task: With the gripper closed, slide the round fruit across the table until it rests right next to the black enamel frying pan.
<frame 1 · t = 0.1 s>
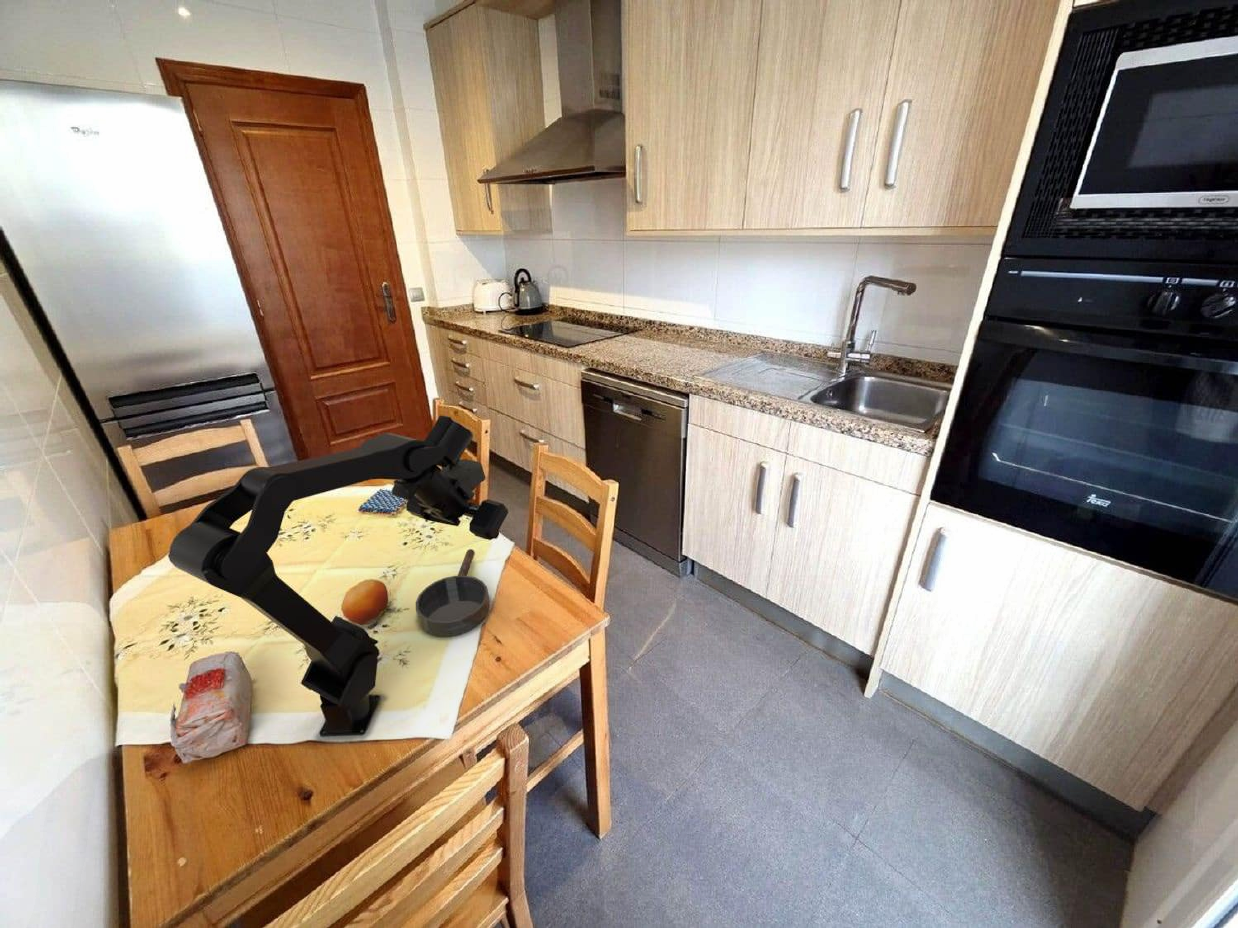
hand: (477, 529, 94), 15 cm above the table, tool tilted 35°, fingers open, 9 cm apart
woven mat: (387, 506, 130), on the table
fruit: (369, 614, 95), on the table
pan handle: (466, 564, 104), point 2 cm above the table
pan: (454, 611, 96), on the table
food item: (225, 725, 74), on the table
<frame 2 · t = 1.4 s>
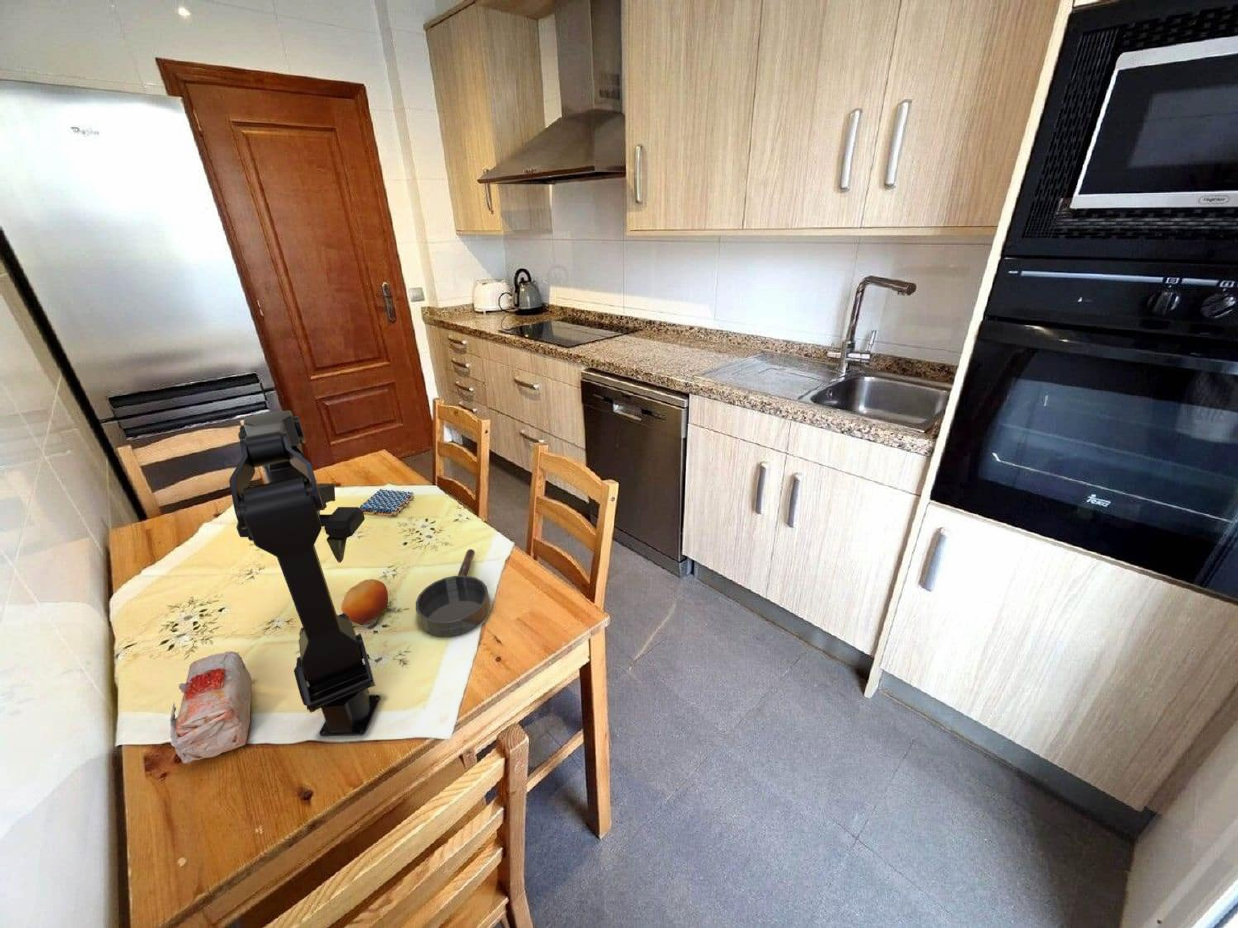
hand: (314, 561, 90), 12 cm above the table, tool pointing down, fingers open, 9 cm apart
nothing on the table moved.
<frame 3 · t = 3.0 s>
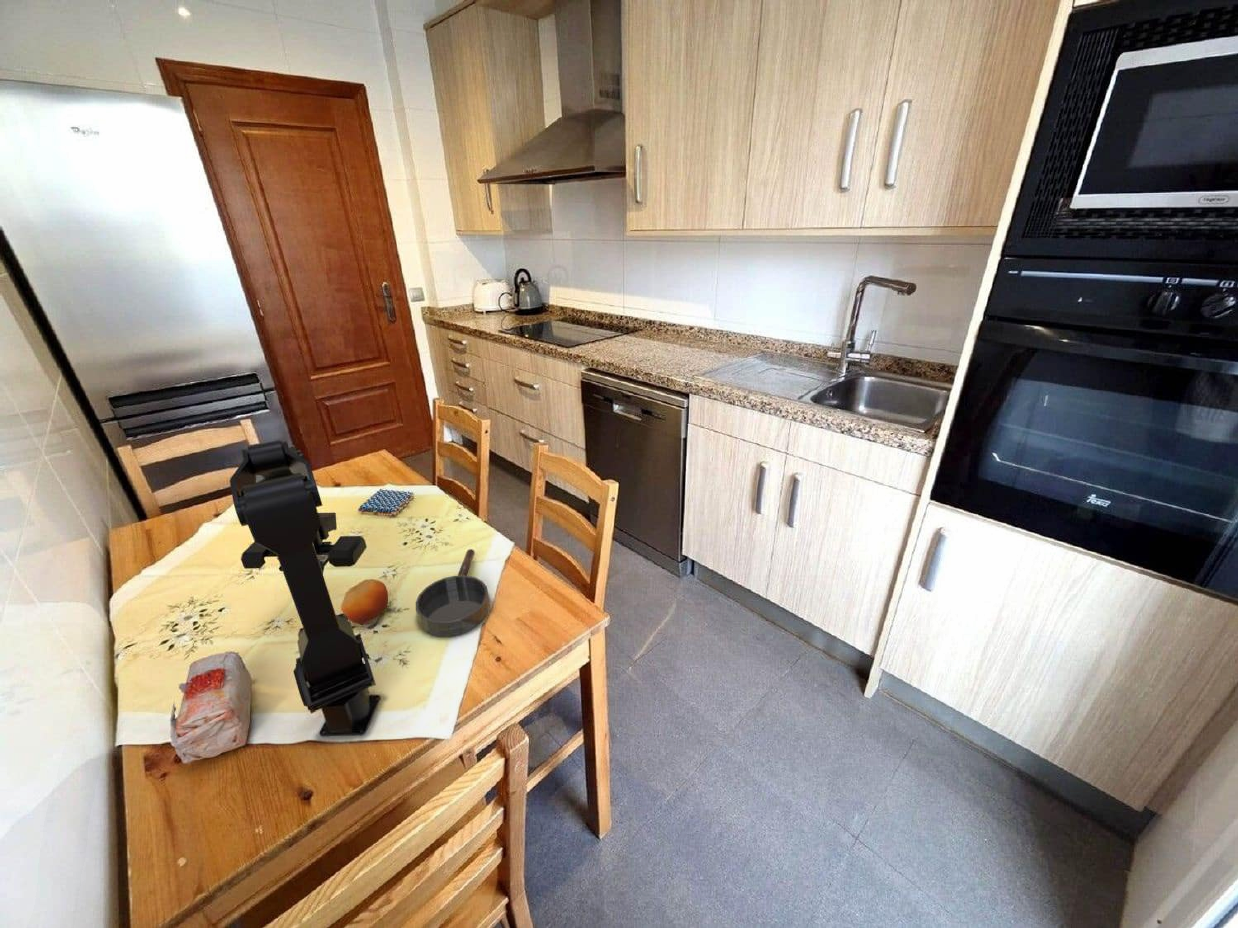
hand: (317, 589, 92), 6 cm above the table, tool pointing down, fingers closed
nothing on the table moved.
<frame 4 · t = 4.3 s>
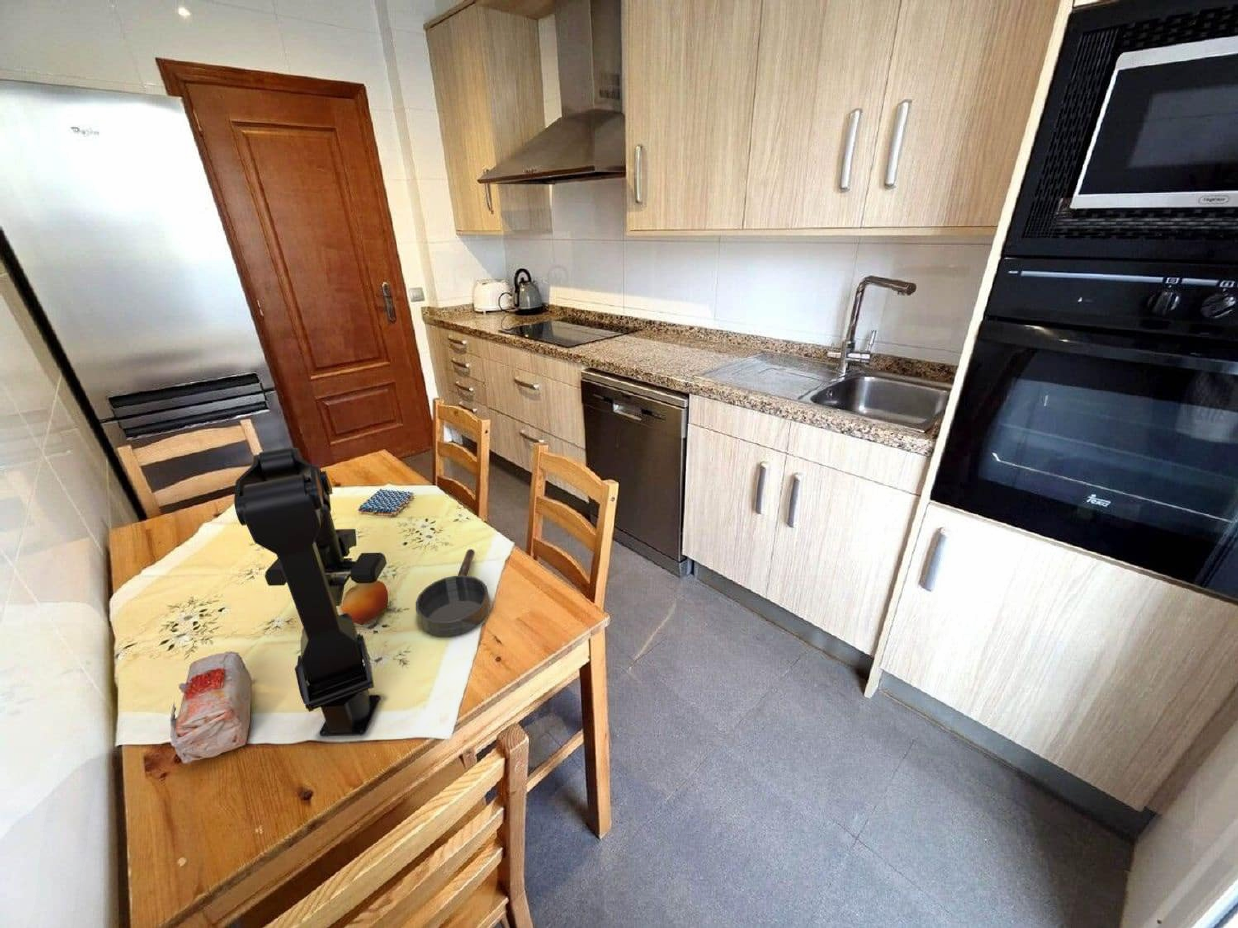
hand: (338, 604, 94), 3 cm above the table, tool pointing down, fingers closed
fruit: (369, 614, 95), on the table, touching gripper
everything else where it was.
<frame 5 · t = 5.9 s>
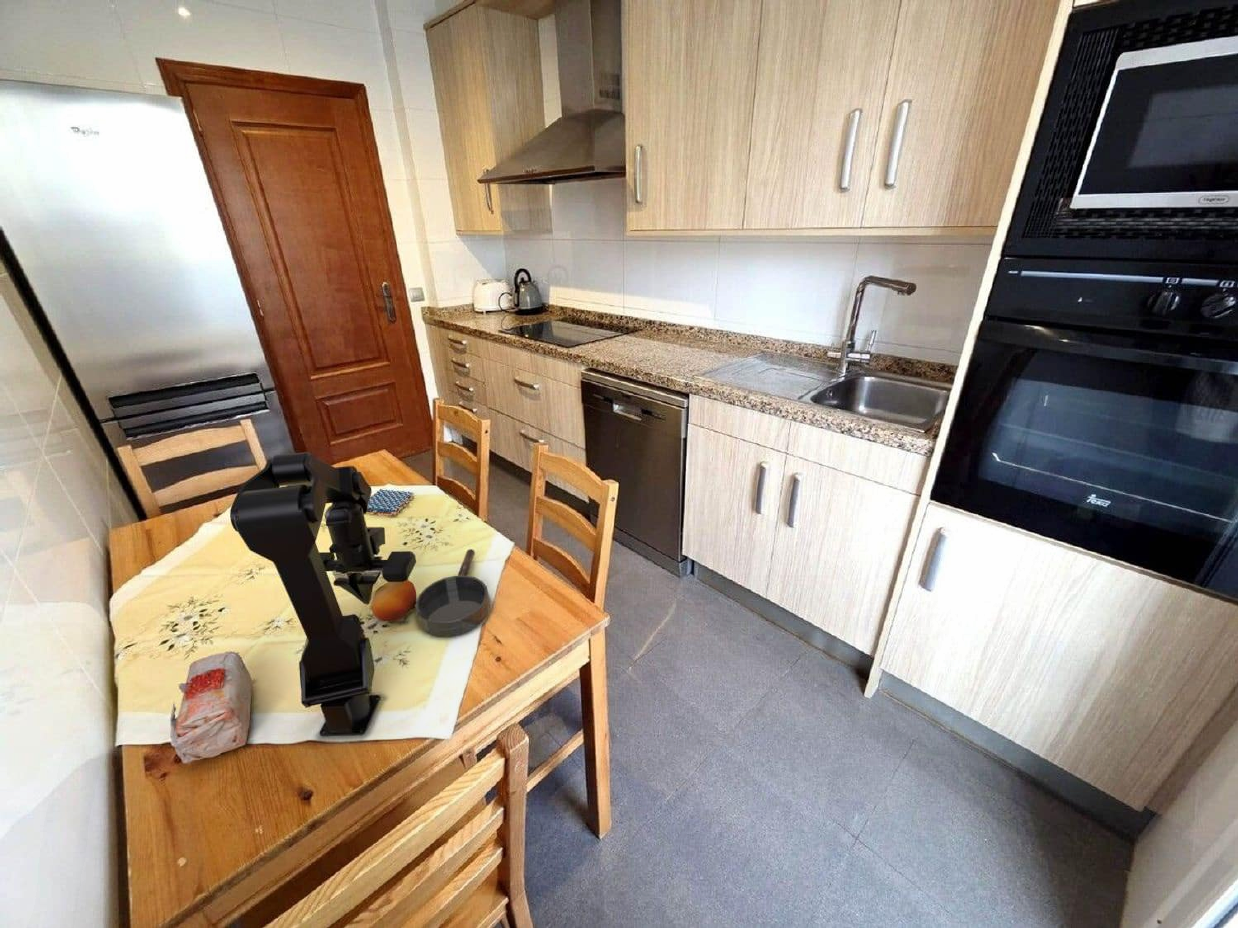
hand: (367, 602, 94), 3 cm above the table, tool pointing down, fingers closed
fruit: (397, 613, 95), on the table, touching gripper
everything else where it was.
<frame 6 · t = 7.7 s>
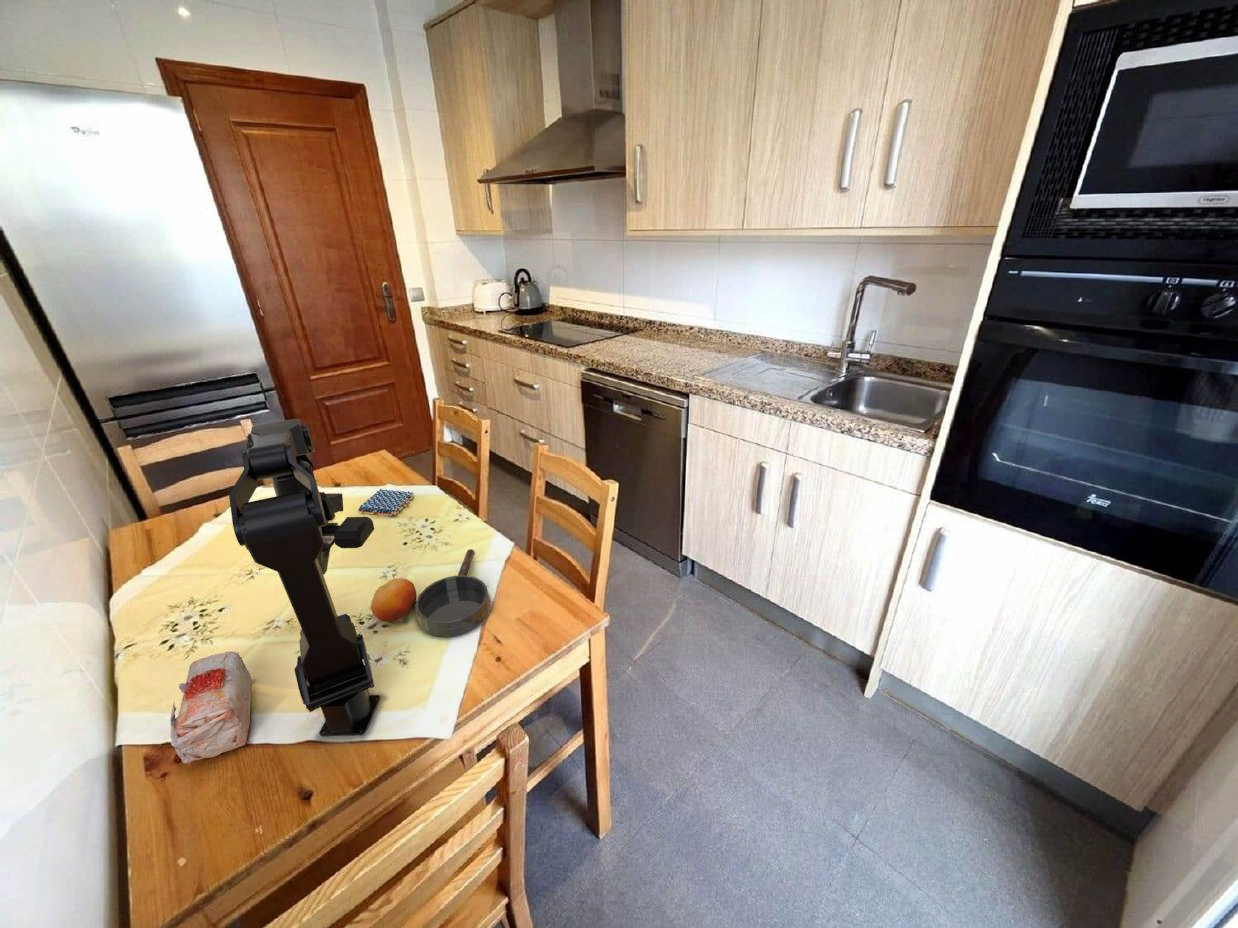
hand: (323, 573, 88), 12 cm above the table, tool pointing down, fingers closed
fruit: (397, 613, 95), on the table
everything else where it was.
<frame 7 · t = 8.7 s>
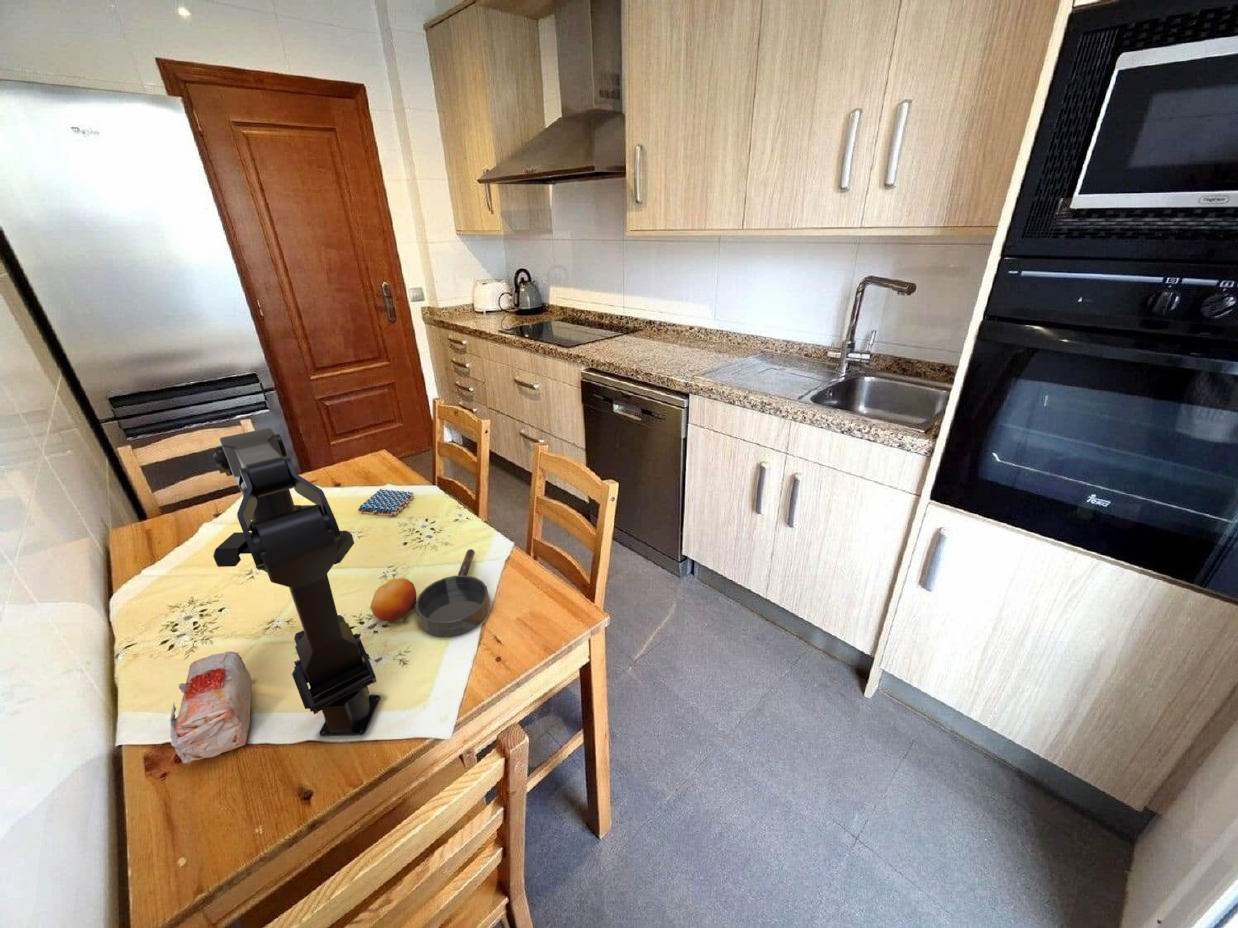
hand: (300, 589, 83), 12 cm above the table, tool pointing down, fingers closed
nothing on the table moved.
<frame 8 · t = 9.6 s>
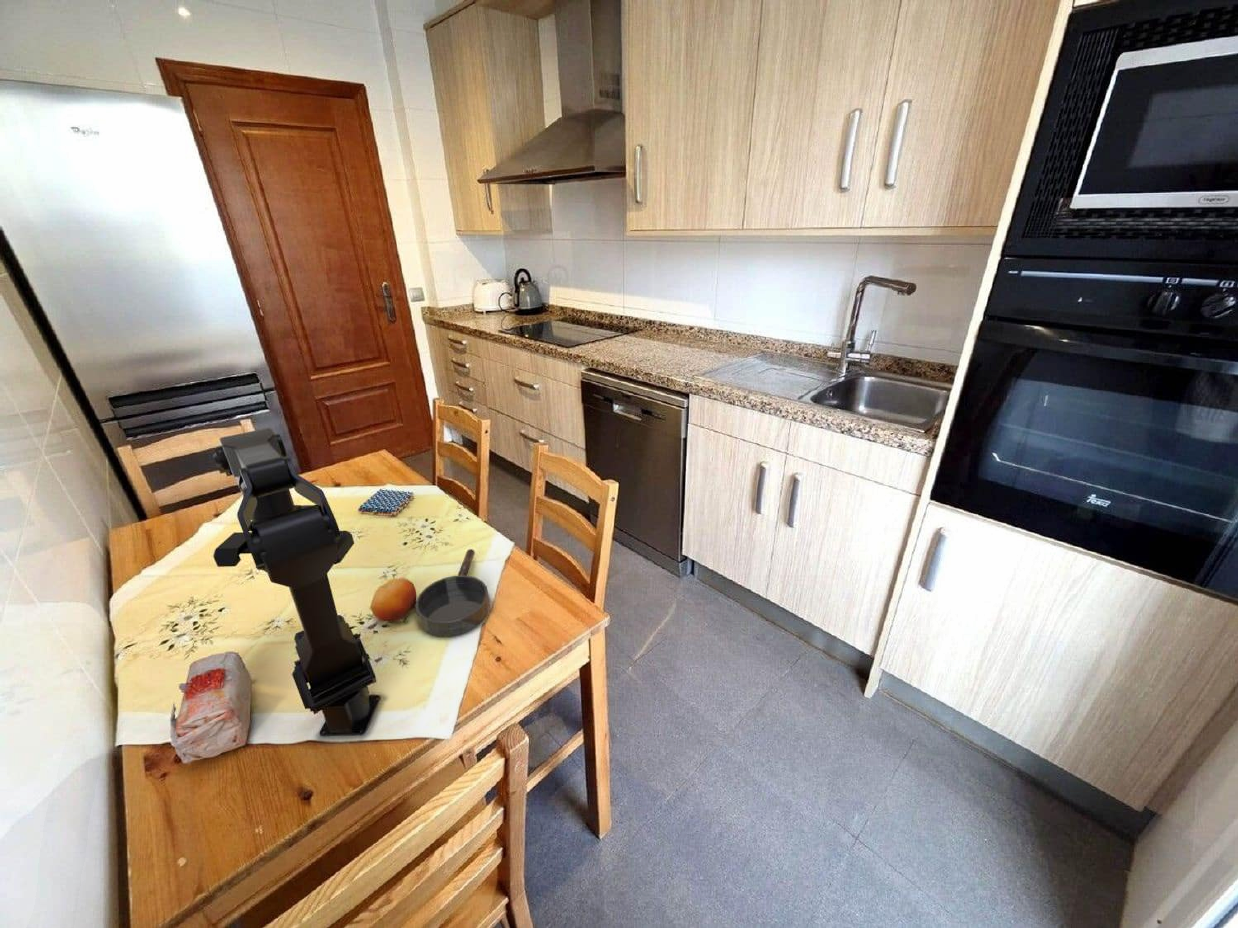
hand: (300, 589, 83), 12 cm above the table, tool pointing down, fingers closed
nothing on the table moved.
at the end: fruit 10.8 cm from the pan (horizontally); fruit moved 5.2 cm from its start; fruit on the table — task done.
